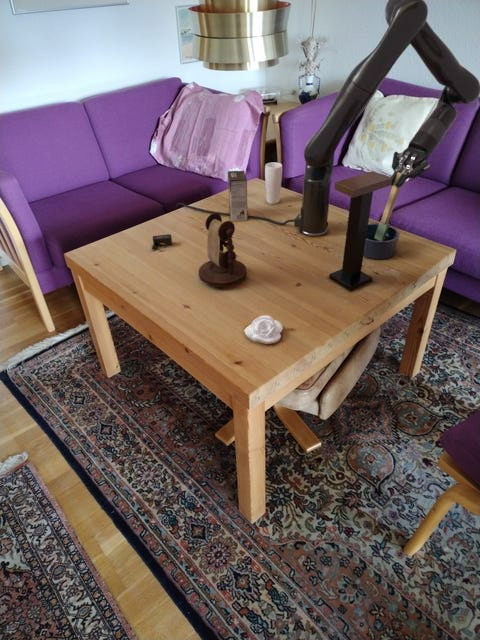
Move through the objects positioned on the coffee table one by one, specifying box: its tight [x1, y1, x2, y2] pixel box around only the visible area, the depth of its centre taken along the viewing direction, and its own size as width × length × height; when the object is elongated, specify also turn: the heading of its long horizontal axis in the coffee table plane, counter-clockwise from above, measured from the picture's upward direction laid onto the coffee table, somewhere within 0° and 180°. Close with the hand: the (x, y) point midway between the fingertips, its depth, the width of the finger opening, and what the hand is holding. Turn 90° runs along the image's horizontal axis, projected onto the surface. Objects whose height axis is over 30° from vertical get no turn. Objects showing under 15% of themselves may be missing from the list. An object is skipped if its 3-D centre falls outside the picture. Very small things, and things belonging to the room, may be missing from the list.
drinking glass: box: [264, 162, 283, 205], centre depth 187 cm, size 7×7×15 cm
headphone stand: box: [328, 170, 392, 292], centre depth 134 cm, size 14×9×31 cm, turn 124°
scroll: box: [198, 213, 248, 290], centre depth 140 cm, size 15×15×20 cm
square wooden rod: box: [374, 172, 403, 241], centre depth 151 cm, size 22×3×2 cm
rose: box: [244, 315, 283, 345], centre depth 122 cm, size 10×4×10 cm
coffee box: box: [227, 170, 248, 222], centre depth 177 cm, size 9×6×16 cm
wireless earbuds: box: [151, 233, 173, 251], centre depth 162 cm, size 5×7×3 cm, turn 101°
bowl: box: [363, 223, 400, 260], centre depth 156 cm, size 13×13×6 cm
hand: (393, 185), depth 147 cm, fingers closed on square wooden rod, 2 cm apart
